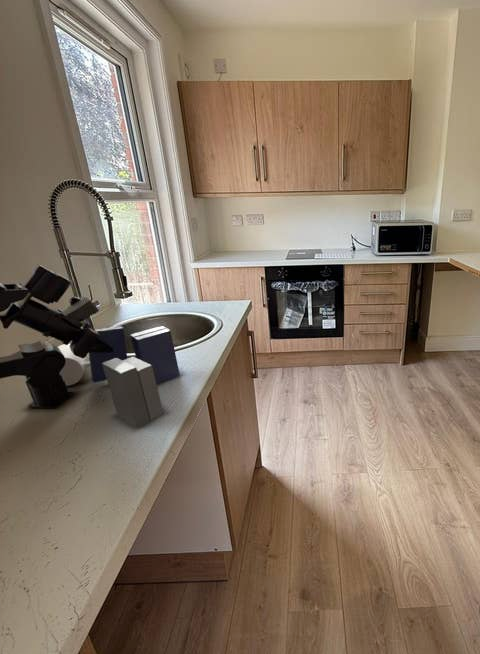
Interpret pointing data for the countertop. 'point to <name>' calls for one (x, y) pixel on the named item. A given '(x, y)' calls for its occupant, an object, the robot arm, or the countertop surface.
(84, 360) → the mug
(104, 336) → the navy book
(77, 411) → the countertop surface
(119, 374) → the grey books
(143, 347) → the navy books
